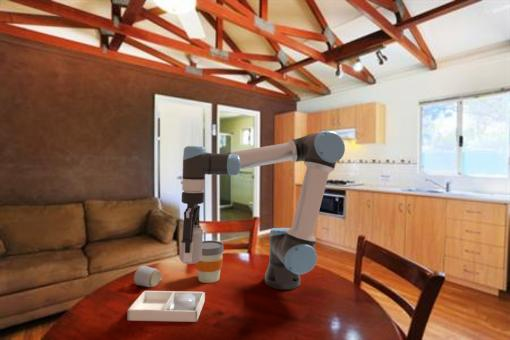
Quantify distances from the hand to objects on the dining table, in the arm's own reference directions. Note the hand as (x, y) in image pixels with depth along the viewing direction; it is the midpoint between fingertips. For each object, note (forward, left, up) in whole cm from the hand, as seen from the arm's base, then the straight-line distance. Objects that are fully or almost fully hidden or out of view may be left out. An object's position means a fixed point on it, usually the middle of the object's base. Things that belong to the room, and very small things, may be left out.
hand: (190, 257), depth 94 cm
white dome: (+1, +2, -17) cm, 18 cm away
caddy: (+7, +2, -18) cm, 19 cm away
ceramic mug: (+21, -18, -19) cm, 34 cm away
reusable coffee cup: (-2, -25, -18) cm, 31 cm away
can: (0, 0, -1) cm, 1 cm away
